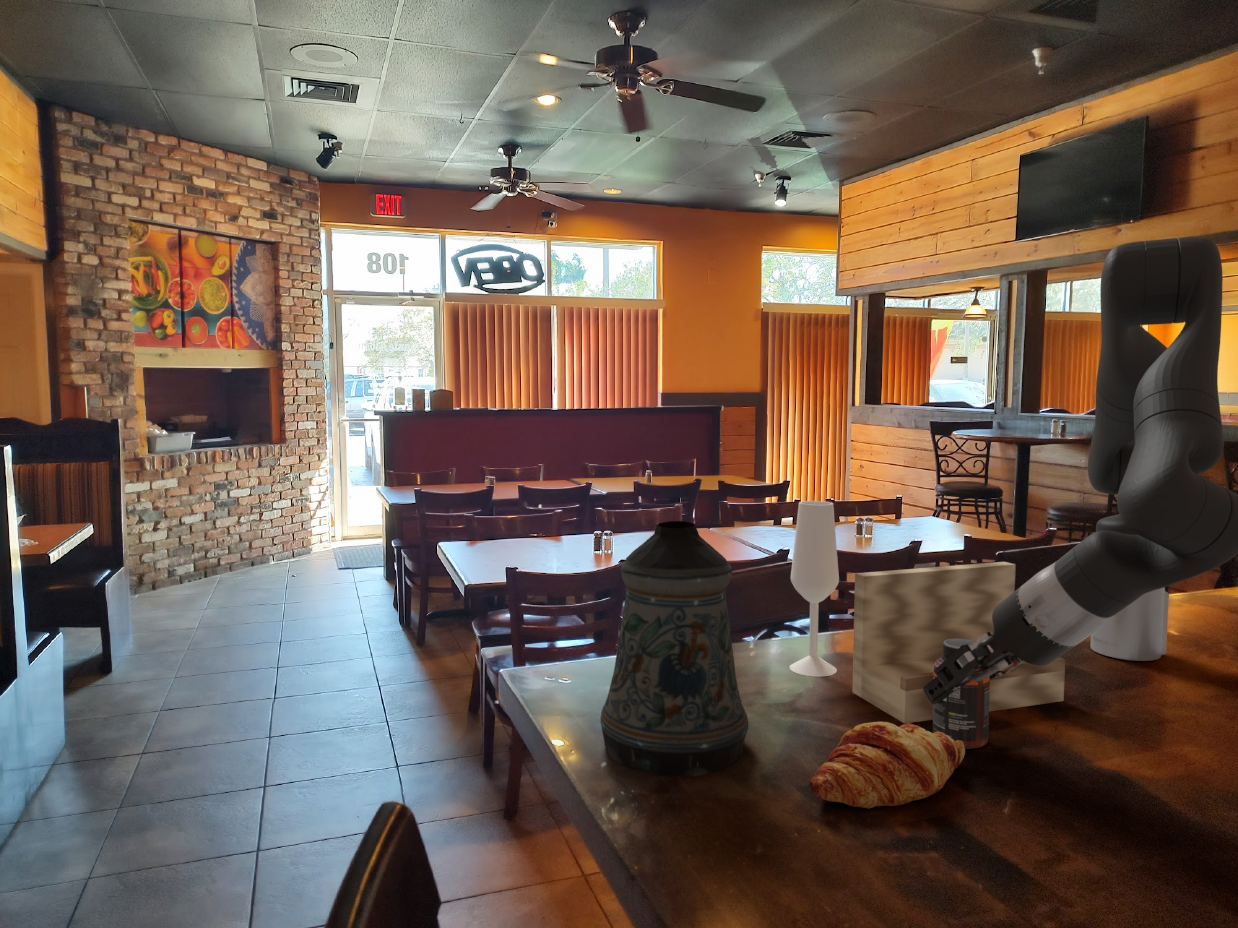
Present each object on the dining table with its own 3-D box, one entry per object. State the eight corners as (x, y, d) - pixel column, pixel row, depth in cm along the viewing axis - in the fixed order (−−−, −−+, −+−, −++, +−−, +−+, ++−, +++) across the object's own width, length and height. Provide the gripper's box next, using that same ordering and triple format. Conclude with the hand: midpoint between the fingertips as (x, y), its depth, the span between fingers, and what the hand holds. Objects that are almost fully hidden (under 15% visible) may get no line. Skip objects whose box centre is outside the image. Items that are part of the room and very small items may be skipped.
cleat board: (1000, 673, 118) (1004, 561, 117) (1063, 700, 108) (1068, 578, 106) (852, 692, 111) (855, 573, 109) (904, 723, 100) (908, 592, 99)
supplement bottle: (978, 730, 98) (981, 636, 97) (995, 752, 92) (999, 651, 91) (925, 728, 99) (928, 634, 98) (939, 750, 93) (943, 650, 92)
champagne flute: (837, 663, 123) (840, 500, 121) (837, 678, 116) (840, 506, 114) (790, 659, 124) (792, 499, 122) (788, 674, 118) (790, 505, 116)
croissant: (936, 783, 93) (911, 710, 95) (1012, 772, 85) (982, 693, 87) (793, 830, 82) (769, 746, 84) (864, 824, 74) (836, 731, 77)
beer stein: (623, 787, 84) (622, 542, 82) (580, 715, 103) (579, 514, 101) (773, 767, 89) (776, 534, 87) (706, 702, 107) (707, 509, 105)
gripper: (1066, 573, 91) (966, 651, 102) (986, 590, 84) (887, 673, 95) (1114, 632, 87) (1005, 707, 98) (1035, 656, 80) (926, 734, 91)
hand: (947, 690), depth 96 cm, fingers closed on supplement bottle, 6 cm apart
